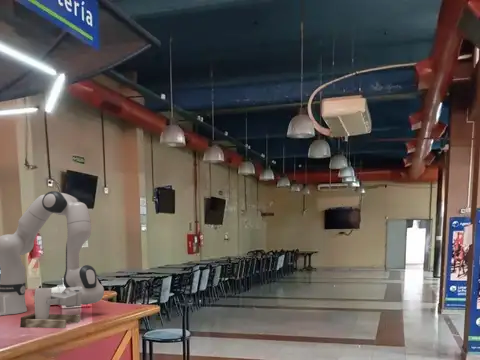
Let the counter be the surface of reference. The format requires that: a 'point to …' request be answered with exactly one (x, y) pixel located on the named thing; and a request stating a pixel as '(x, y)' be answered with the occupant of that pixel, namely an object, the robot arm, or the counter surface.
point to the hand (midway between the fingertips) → (41, 301)
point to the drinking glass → (42, 303)
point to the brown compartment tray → (48, 321)
